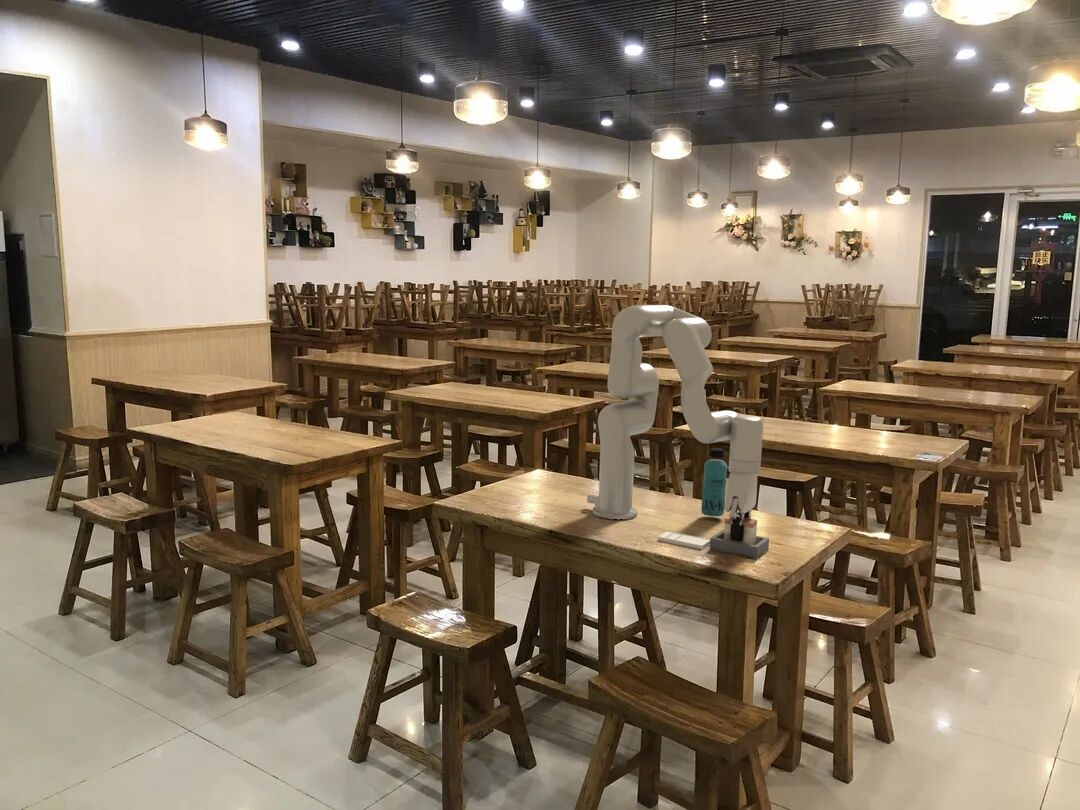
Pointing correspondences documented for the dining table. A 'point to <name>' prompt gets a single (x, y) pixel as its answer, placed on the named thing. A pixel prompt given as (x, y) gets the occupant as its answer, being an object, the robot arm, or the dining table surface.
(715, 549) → the tray
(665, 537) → the cream slab
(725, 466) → the beverage bottle
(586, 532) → the dining table surface
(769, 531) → the dining table surface
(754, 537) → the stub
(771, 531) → the dining table surface
